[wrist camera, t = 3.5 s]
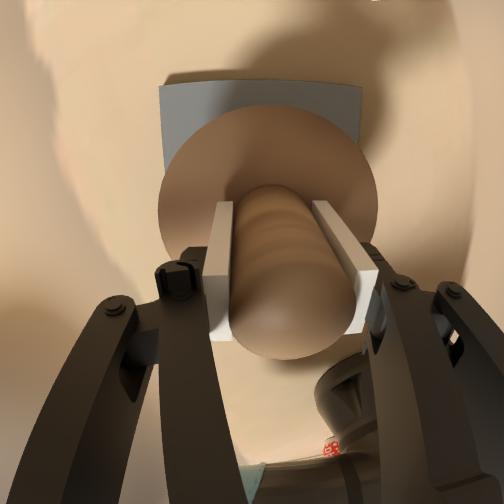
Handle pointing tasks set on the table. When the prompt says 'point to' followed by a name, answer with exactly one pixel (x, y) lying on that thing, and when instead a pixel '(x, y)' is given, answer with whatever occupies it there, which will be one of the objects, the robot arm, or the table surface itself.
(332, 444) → the beverage cup
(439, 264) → the table surface
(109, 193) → the table surface
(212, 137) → the lid
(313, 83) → the mat
